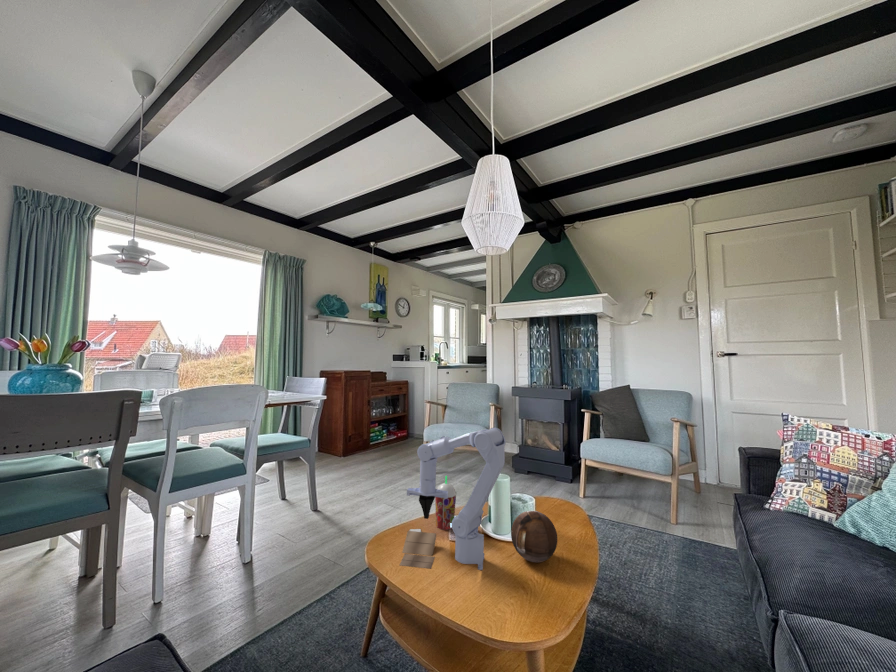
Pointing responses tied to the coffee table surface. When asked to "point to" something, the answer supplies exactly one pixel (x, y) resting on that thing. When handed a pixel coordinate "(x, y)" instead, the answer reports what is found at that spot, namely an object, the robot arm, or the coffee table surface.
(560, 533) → the coffee table surface
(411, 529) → the light grey block
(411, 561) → the laid board
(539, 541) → the wooden sphere
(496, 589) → the coffee table surface
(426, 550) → the board
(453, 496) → the smoothie
